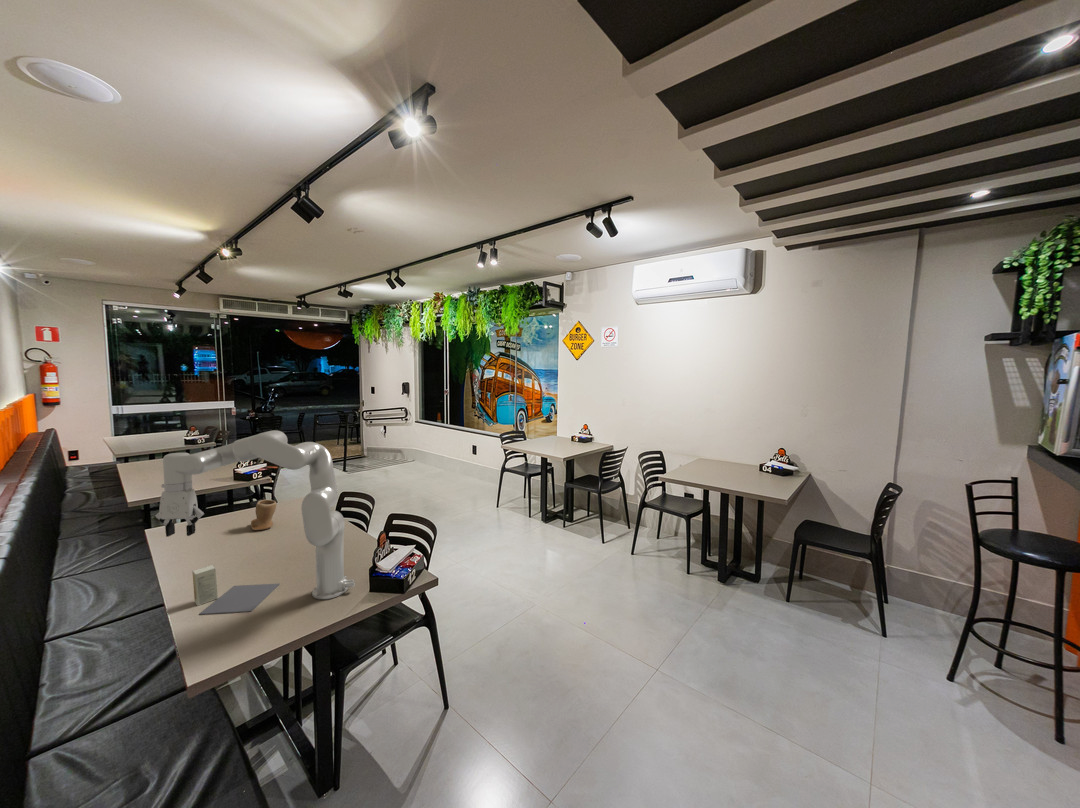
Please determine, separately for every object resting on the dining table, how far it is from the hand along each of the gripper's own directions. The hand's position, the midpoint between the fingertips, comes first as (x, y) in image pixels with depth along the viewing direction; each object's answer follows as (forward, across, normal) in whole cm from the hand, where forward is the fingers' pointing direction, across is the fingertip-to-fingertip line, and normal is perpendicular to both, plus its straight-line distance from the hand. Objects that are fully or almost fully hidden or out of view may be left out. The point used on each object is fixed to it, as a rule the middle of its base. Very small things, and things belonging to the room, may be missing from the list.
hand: (180, 534), depth 145 cm
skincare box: (+26, +8, 0) cm, 27 cm away
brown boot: (+26, -13, +77) cm, 82 cm away
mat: (+26, +20, 0) cm, 32 cm away
